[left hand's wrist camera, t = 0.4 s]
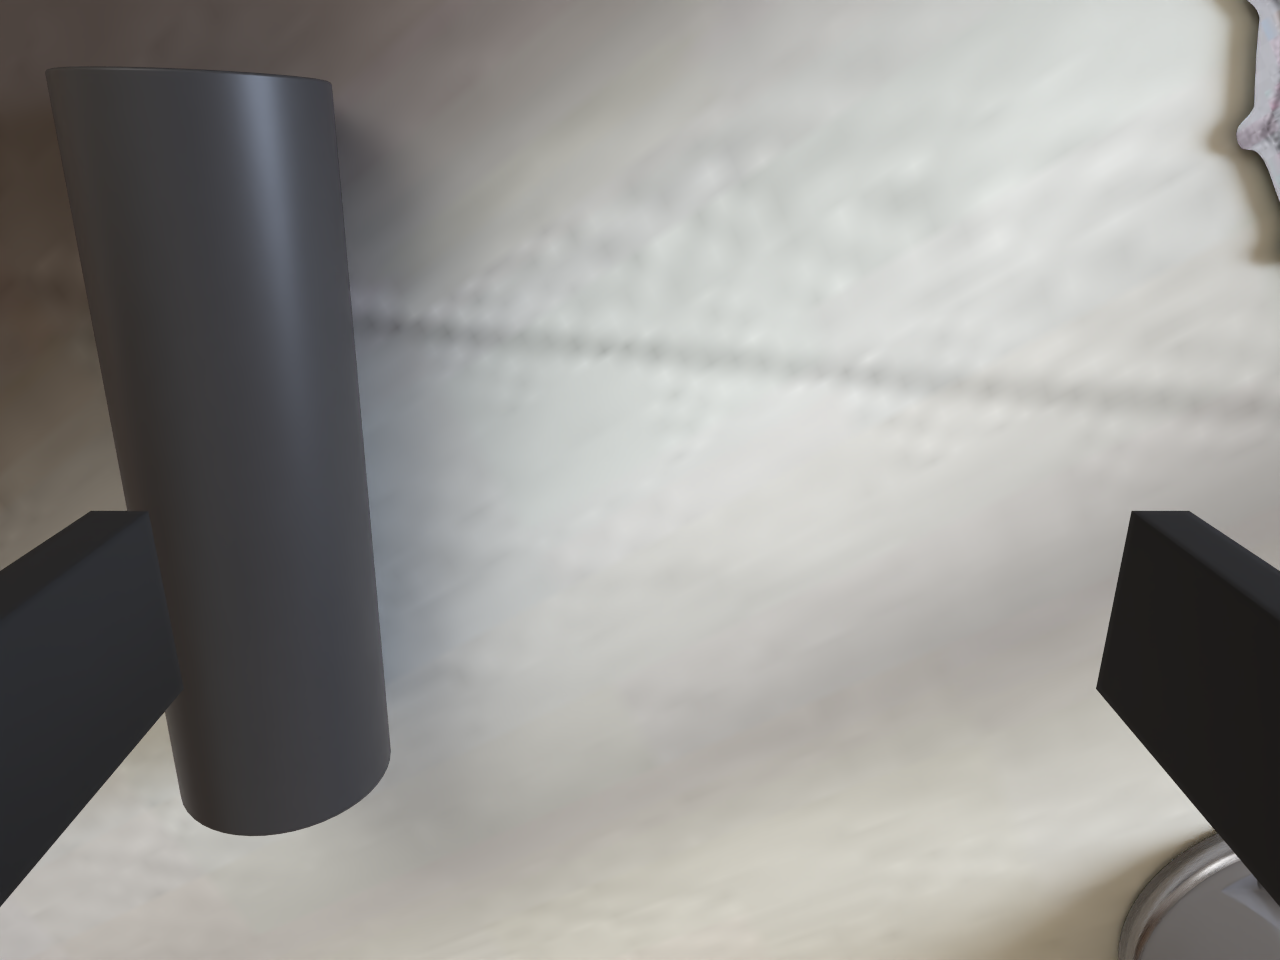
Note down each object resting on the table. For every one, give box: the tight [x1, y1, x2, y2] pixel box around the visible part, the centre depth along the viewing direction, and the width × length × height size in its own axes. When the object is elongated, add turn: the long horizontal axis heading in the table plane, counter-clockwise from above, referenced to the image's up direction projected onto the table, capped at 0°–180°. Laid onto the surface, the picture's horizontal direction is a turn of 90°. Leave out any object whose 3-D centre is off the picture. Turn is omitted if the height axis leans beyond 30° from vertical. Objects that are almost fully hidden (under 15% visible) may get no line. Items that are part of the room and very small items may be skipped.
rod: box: [45, 67, 391, 836], centre depth 34 cm, size 27×8×8 cm, turn 179°
